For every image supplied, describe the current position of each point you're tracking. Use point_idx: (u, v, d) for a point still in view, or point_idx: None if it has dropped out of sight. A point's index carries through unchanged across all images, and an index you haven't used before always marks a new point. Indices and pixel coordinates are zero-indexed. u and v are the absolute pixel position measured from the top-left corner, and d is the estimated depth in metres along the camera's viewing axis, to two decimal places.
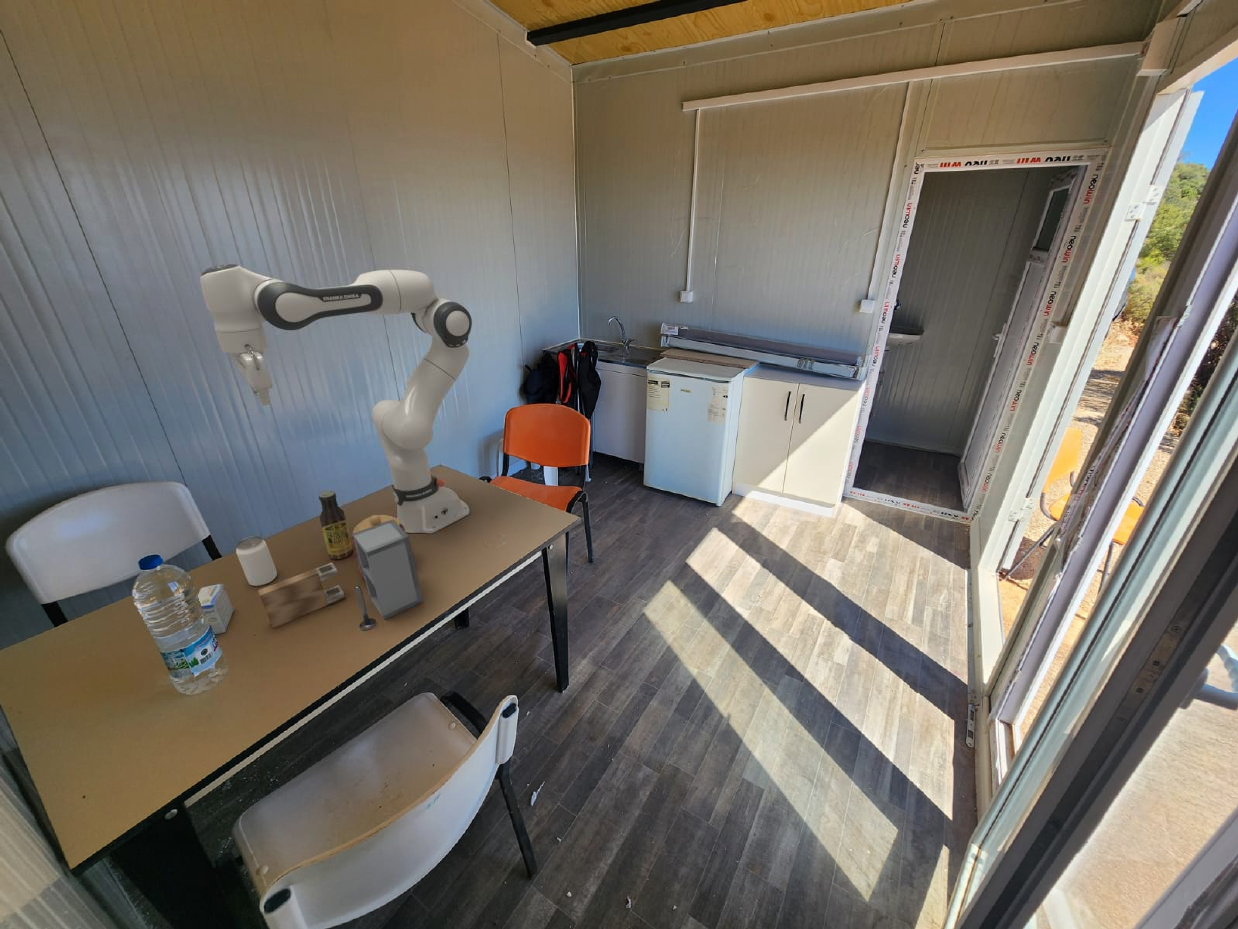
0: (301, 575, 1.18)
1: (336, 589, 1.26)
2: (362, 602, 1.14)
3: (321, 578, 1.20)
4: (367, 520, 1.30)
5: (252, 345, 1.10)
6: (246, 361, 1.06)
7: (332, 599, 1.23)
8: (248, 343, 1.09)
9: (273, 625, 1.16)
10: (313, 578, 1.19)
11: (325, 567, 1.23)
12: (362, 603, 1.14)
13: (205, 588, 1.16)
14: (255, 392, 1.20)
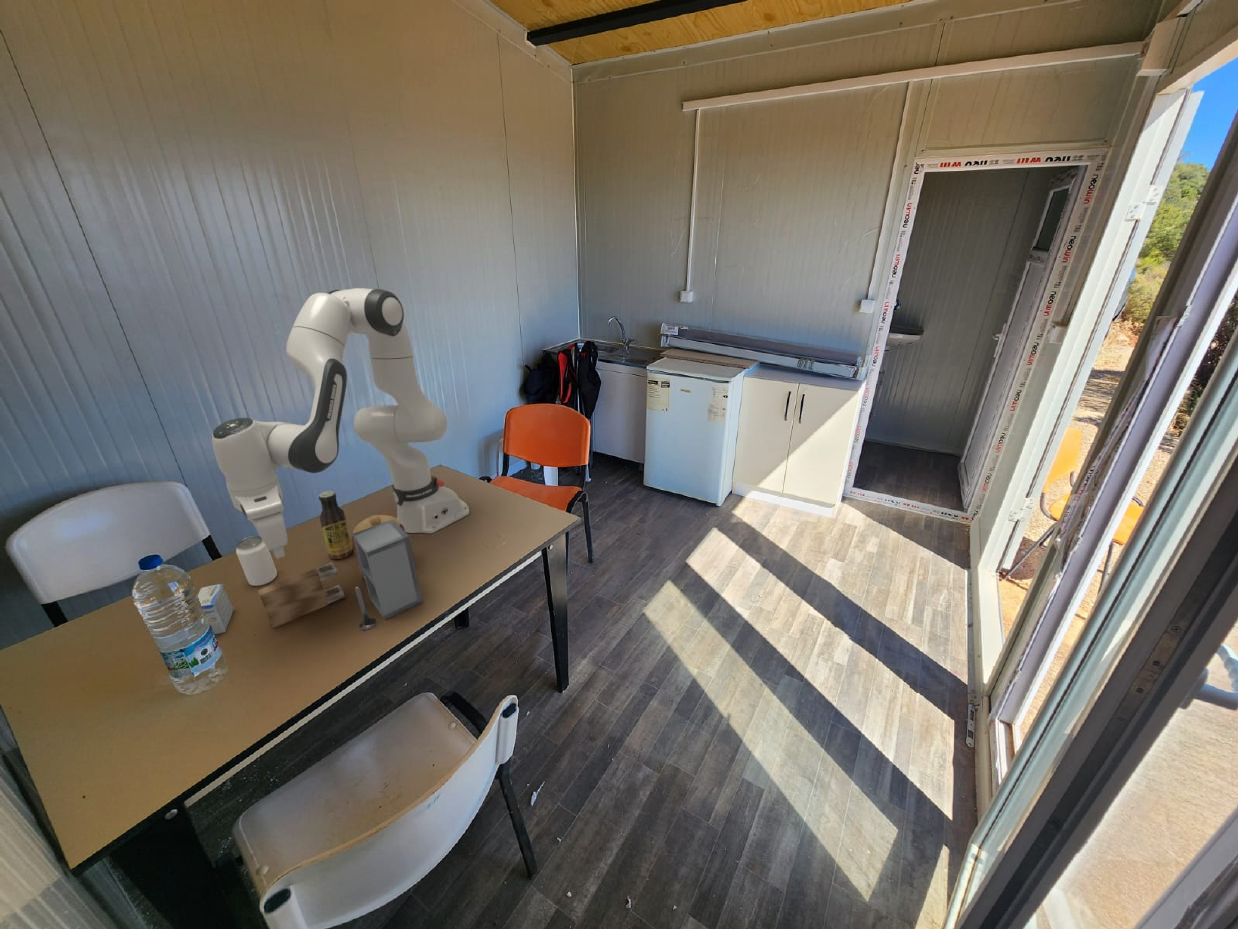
0: (301, 575, 1.18)
1: (336, 589, 1.26)
2: (362, 602, 1.14)
3: (321, 578, 1.20)
4: (367, 520, 1.30)
5: None
6: None
7: (332, 599, 1.23)
8: None
9: (273, 625, 1.16)
10: (313, 578, 1.19)
11: (325, 567, 1.23)
12: (362, 603, 1.14)
13: (205, 588, 1.16)
14: None
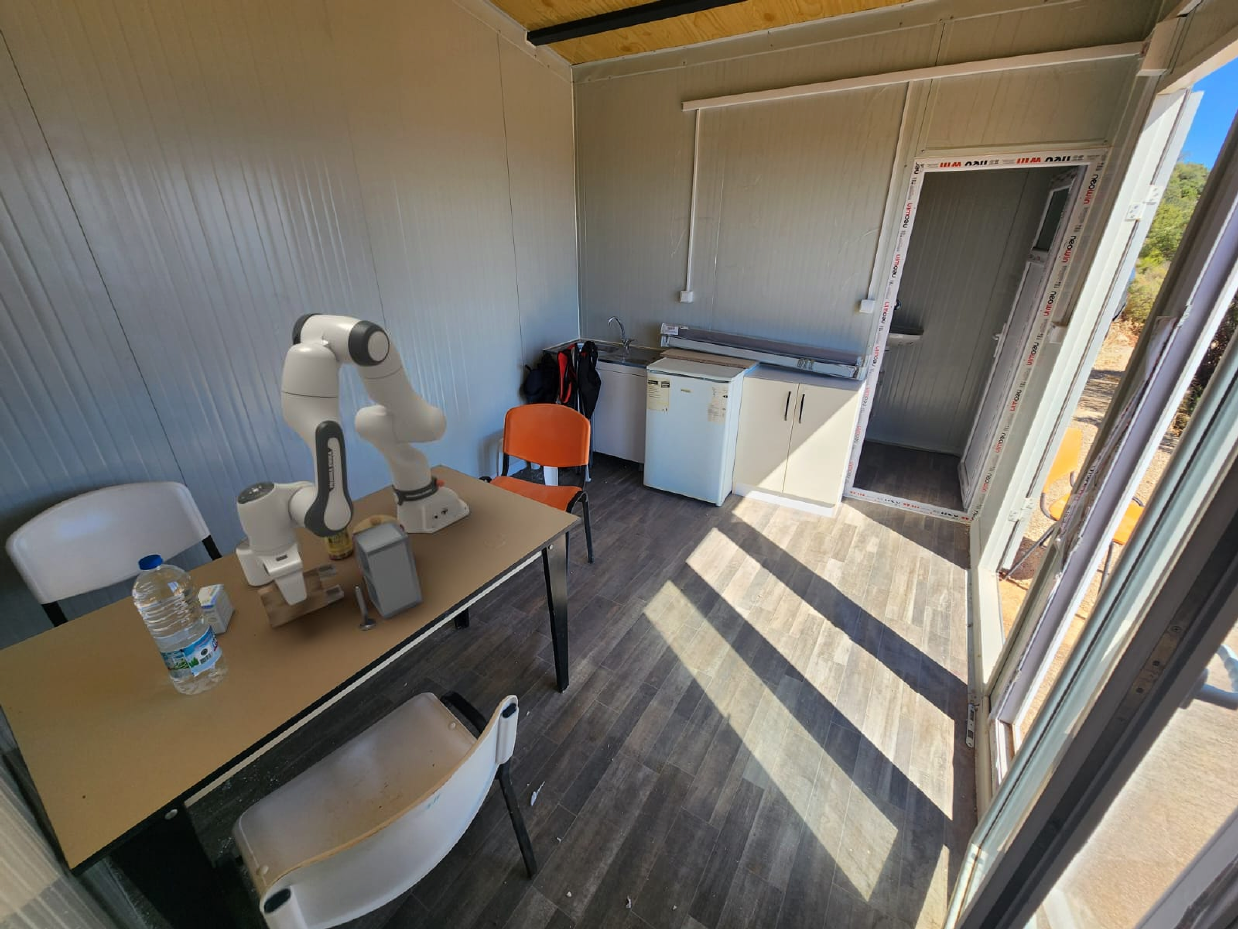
0: None
1: (336, 589, 1.26)
2: (362, 602, 1.14)
3: (321, 578, 1.19)
4: (367, 520, 1.30)
5: None
6: None
7: (332, 599, 1.23)
8: None
9: (273, 625, 1.16)
10: (313, 578, 1.19)
11: (325, 567, 1.22)
12: (362, 603, 1.14)
13: (205, 588, 1.16)
14: None
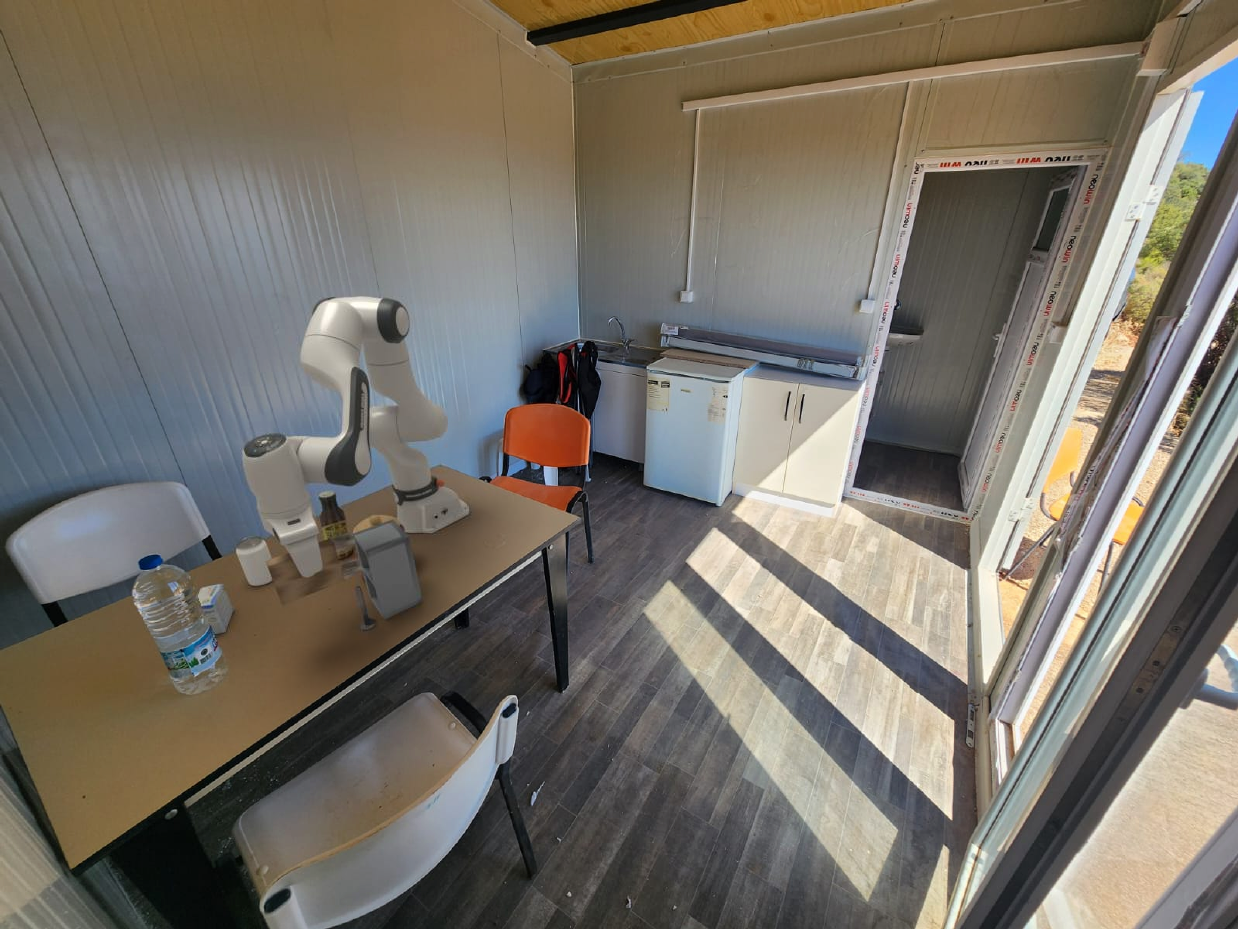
0: None
1: (353, 563, 1.12)
2: (362, 602, 1.14)
3: (337, 549, 1.05)
4: (367, 520, 1.30)
5: None
6: None
7: (349, 574, 1.08)
8: None
9: (282, 602, 1.01)
10: (328, 549, 1.04)
11: (341, 537, 1.08)
12: (362, 603, 1.14)
13: (205, 588, 1.16)
14: None
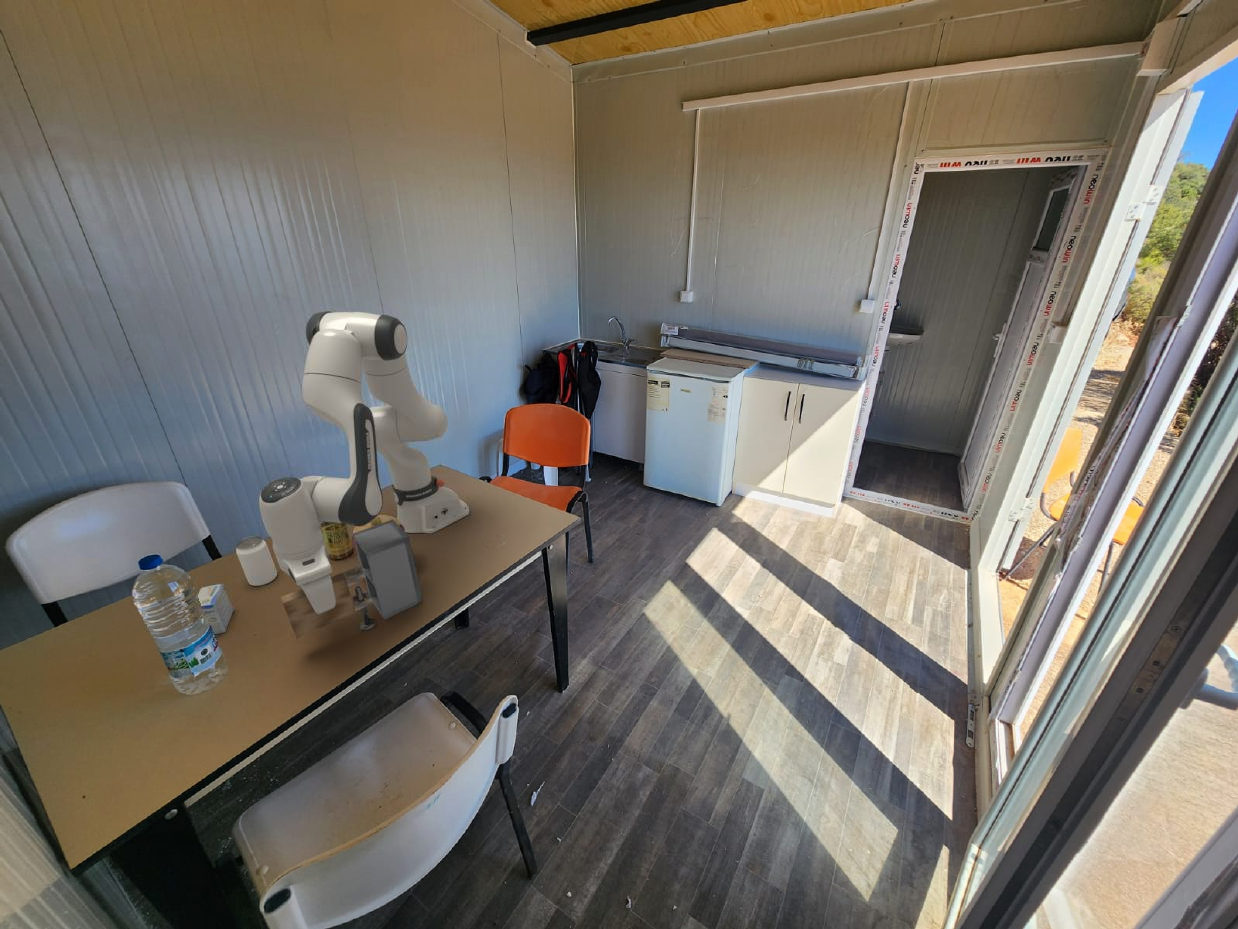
0: None
1: (363, 595, 1.16)
2: None
3: (349, 583, 1.09)
4: None
5: None
6: None
7: (360, 606, 1.13)
8: None
9: (297, 635, 1.06)
10: (340, 583, 1.08)
11: (352, 571, 1.12)
12: None
13: (205, 588, 1.16)
14: None
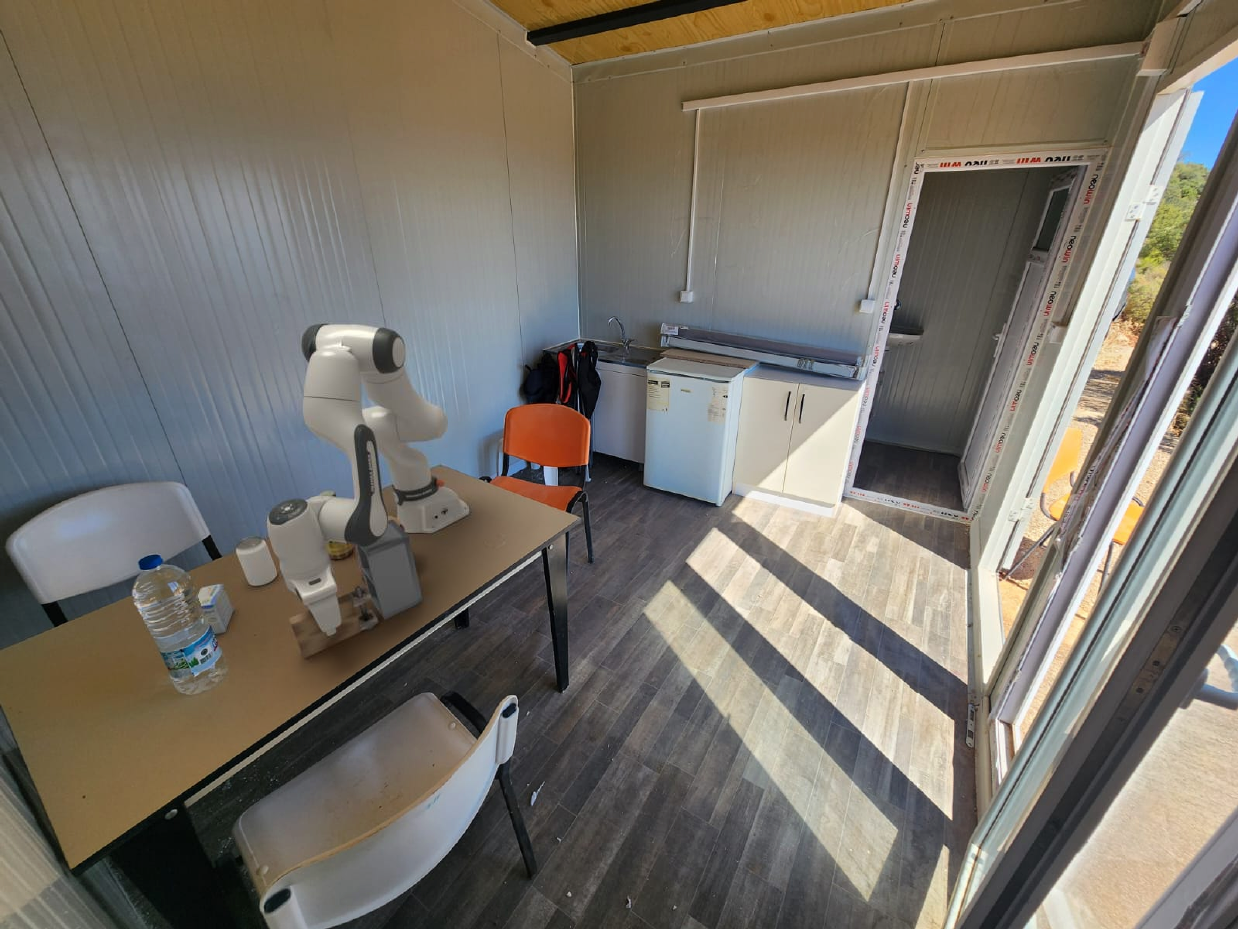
0: None
1: (369, 614, 1.19)
2: None
3: (355, 604, 1.12)
4: None
5: None
6: None
7: (365, 625, 1.15)
8: None
9: (304, 655, 1.08)
10: (347, 604, 1.11)
11: None
12: None
13: (205, 588, 1.16)
14: None
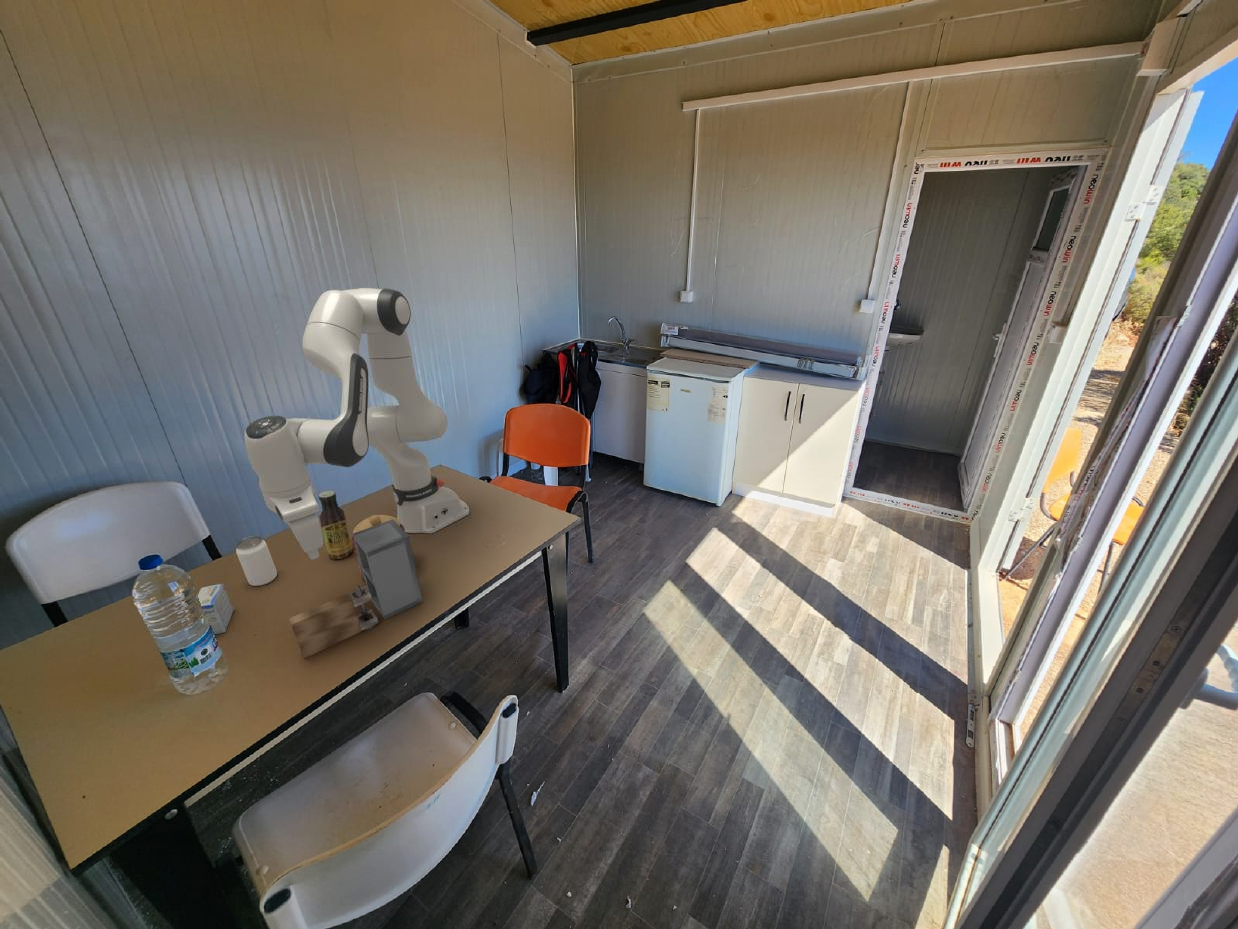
0: (333, 601, 1.10)
1: (369, 614, 1.19)
2: None
3: (355, 604, 1.12)
4: (367, 520, 1.30)
5: None
6: None
7: (365, 626, 1.15)
8: None
9: (304, 655, 1.08)
10: (347, 604, 1.11)
11: None
12: None
13: (205, 588, 1.16)
14: None
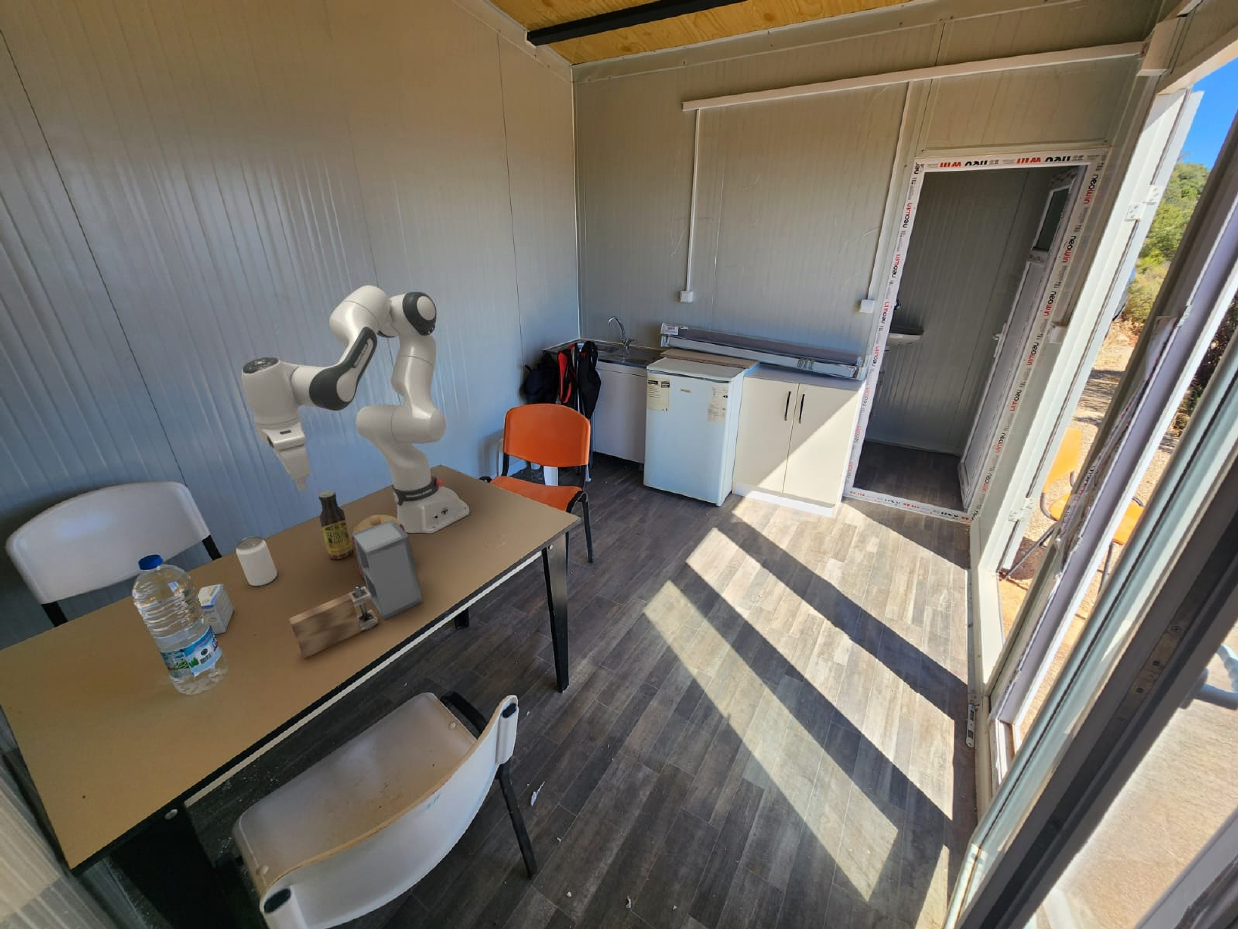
0: (333, 601, 1.10)
1: (369, 614, 1.19)
2: None
3: (355, 604, 1.12)
4: (367, 520, 1.30)
5: None
6: None
7: (365, 625, 1.15)
8: None
9: (304, 655, 1.08)
10: (347, 604, 1.11)
11: None
12: None
13: (205, 588, 1.16)
14: None
